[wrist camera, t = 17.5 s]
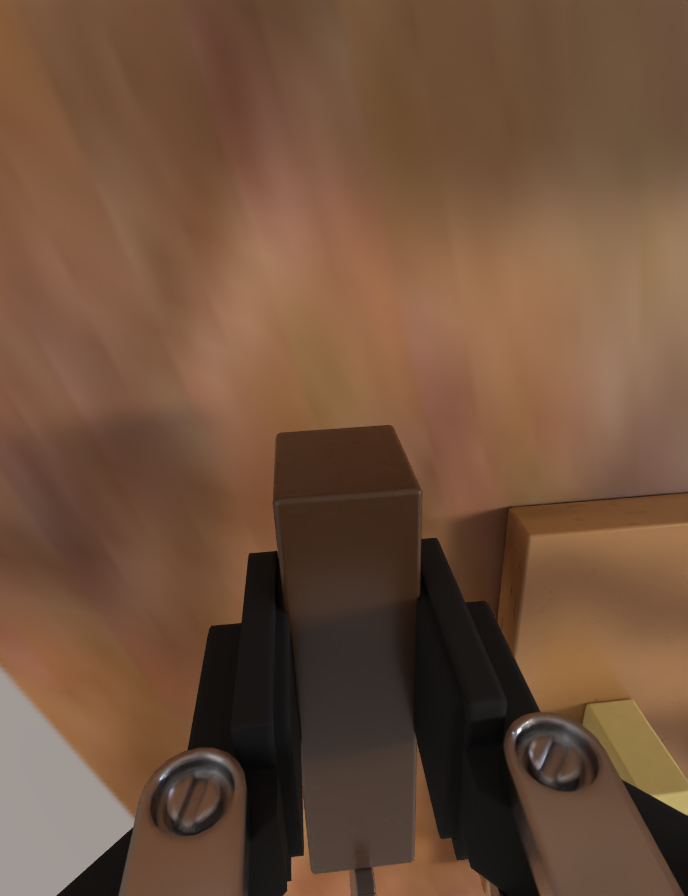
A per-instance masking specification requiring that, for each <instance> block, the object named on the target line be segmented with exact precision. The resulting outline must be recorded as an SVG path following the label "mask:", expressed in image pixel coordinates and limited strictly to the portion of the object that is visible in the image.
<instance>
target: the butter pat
mask: <svg viewBox="0 0 688 896" xmlns="http://www.w3.org/2000/svg"><path fill="white" fill-rule="evenodd" d="M582 725H583V726H584V727H585V728H586V729H588V730H589V731H590V732H591V733H592V734H593V735H595V736H596V738H597V739H598V740H599V742H600V743H601V745H602V746H603V747H604V749H605V750H606V752H607V754H608V756H609V758H610V759H611V761H612V763H613V765H614V767H615V769H616V770H617V772H618V774H619V776H620V778H621V779H622V780H624V781H626V782H628V783H629V784H631V785H633V786H635V787H637V788H638V789H640V790H642V791H644V792H646V793H647V794H649V795H651V796H653V797H655V798H656V799H658V800H660V801H662V802H664V803H665V804H667V805H669V806H671V807H673V808H675V809H676V810H678V811H680V812H682V813H684V814H685V815H687V814H688V781H687V779H686V778H685V776H684V775H683V773H682V772H681V770H680V769H679V767H678V766H677V764H676V763H675V761H674V760H673V758H672V757H671V755H670V754H669V752H668V751H667V749H666V748H665V746H664V745H663V744H662V742H661V741H660V739H659V738H658V736H657V735H656V733H655V732H654V730H653V729H652V727H651V726H650V724H649V723H648V721H647V720H646V718H645V717H644V715H643V714H642V712H641V711H640V709H639V708H638V706H637V705H636V703H635V702H634V701H633V700H632V699H624V700H615V701H606V702H597V703H589V704H587V705H586V709H585V714H584V719H583V724H582Z"/></svg>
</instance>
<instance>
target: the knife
mask: <svg viewBox="0 0 688 896" xmlns="http://www.w3.org/2000/svg"><path fill="white" fill-rule="evenodd" d="M273 510H274V519H275V529H276V539H277V548H278V558H279V568H280V577H281V587H282V597H283V606H284V611H285V613H288V616H289V626H290V636H291V646H292V657H293V667H294V677H295V687H296V697H297V708H298V718H299V728H300V738H301V763H302V789H303V799H304V809H305V818H306V828H307V838H308V847H309V857H310V867H311V871H312V873H314V874H320V873H329V872H337V871H345V870H349V871H350V889H351V896H376V889H375V881H374V873H373V867H377V866H385V865H394V864H402V863H410V862H412V861H414V857H415V812H416V766H417V739H416V735H415V685H416V637H417V602H418V601H419V600H420V579H421V533H422V490H421V488H420V485H419V483H418V481H417V479H416V476H415V474H414V472H413V470H412V468H411V465H410V463H409V461H408V459H407V456H406V454H405V452H404V450H403V448H402V445H401V443H400V441H399V439H398V436H397V434H396V432H395V430H394V427H393V426H391V425H384V426H369V427H355V428H341V429H327V430H313V431H299V432H284V433H279V434H277V436H276V443H275V466H274V489H273Z"/></svg>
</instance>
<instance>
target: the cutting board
mask: <svg viewBox="0 0 688 896" xmlns="http://www.w3.org/2000/svg"><path fill="white" fill-rule="evenodd" d="M497 623H498V625H499V627H500V629H501V631H502V633H503V635H504V637H505V639H506V641H507V644H508V646H509V648H510V650H511V652H512V654H513V656H514V658H515V660H516V662H517V664H518V666H519V668H520V670H521V672H522V674H523V676H524V679H525V681H526V683H527V685H528V687H529V689H530V691H531V693H532V695H533V697H534V699H535V701H536V703H537V705H538V707H539V709H540V711H541V712H548V713H555V714H558V715H562V716H565V717H568V718H570V719H572V720H574V721H576V722H578V723H579V724H581V725H582V724H583V719H584V714H585V709H586V705H587V704H589V703H597V702H606V701H615V700H624V699H632V700H633V701H634V702H635V703H636V705H637V706H638V708H639V709H640V711H641V712H642V714H643V715H644V717H645V718H646V720H647V721H648V723H649V724H650V726H651V727H652V729H653V730H654V732H655V733H656V735H657V736H658V738H659V739H660V741H661V742H662V744H663V745H664V746H665V748H666V749H667V751H668V752H669V754H670V755H671V757H672V758H673V760H674V761H675V763H676V764H677V766H678V767H679V769H680V770H681V772H682V773H683V775H684V776H685V778H686V779H687V781H688V493H682V494H669V495H657V496H645V497H633V498H621V499H609V500H597V501H584V502H572V503H560V504H548V505H536V506H524V507H512V508H509V510H508V520H507V530H506V540H505V550H504V559H503V569H502V579H501V589H500V599H499V609H498V619H497ZM687 816H688V814H687ZM479 875H480V874H479ZM480 879H481V883H482V886H483V890H484V892H485V894H487V895H488V894H491V893H490V885H489V881H488V880H487V879H485V878H484V877H483V876H481V875H480Z"/></svg>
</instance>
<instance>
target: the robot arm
mask: <svg viewBox="0 0 688 896" xmlns="http://www.w3.org/2000/svg"><path fill="white" fill-rule="evenodd" d="M415 735H416V739H417V744H418V748H419V752H420V756H421V761H422V765H423V769H424V773H425V778H426V782H427V786H428V790H429V795H430V799H431V803H432V807H433V812H434V816H435V820H436V824H437V828H438V832H439V835H440V838H441V839H445V838H452V842H453V846H454V850H455V854H456V858H457V860H465V859H469V863H470V866H471V868H472V869H473V870H475V871H476V872H477V873H479V874H480V875H481V876H483V877H484V878H485V879H487V880H488V881H489V885H490V893H491V896H688V816H687V815H685V814H684V813H682V812H680V811H678V810H676V809H675V808H673V807H671V806H669V805H667V804H665V803H664V802H662V801H660V800H658V799H656V798H655V797H653V796H651V795H649V794H647V793H646V792H644V791H642V790H640V789H638V788H637V787H635V786H633V785H631V784H629V783H628V782H626V781H624V780H622V779H621V778H620V776H619V774H618V772H617V770H616V769H615V767H614V765H613V763H612V761H611V759H610V758H609V756H608V754H607V752H606V750H605V749H604V747H603V746H602V745H601V743H600V742H599V740H598V739H597V738H596V736H595V735H593V734H592V733H591V732H590V731H589V730H588V729H586V728H585V727H584V726H583V725H581V724H579V723H578V722H576V721H574V720H572V719H570V718H568V717H565V716H562V715H558V714H555V713H548V712H541V711H540V709H539V707H538V705H537V703H536V701H535V699H534V697H533V695H532V693H531V691H530V689H529V687H528V685H527V683H526V681H525V679H524V676H523V674H522V672H521V670H520V668H519V666H518V664H517V662H516V660H515V658H514V656H513V654H512V652H511V650H510V648H509V646H508V644H507V641H506V639H505V637H504V635H503V633H502V631H501V629H500V627H499V625H498V623H497V621H496V619H495V617H494V615H493V613H492V611H491V609H490V607H489V605H488V604H487V603H486V602H485V601H478V602H467V603H465V601H464V599H463V597H462V594H461V592H460V590H459V587H458V585H457V583H456V580H455V578H454V576H453V573H452V571H451V569H450V566H449V564H448V562H447V559H446V557H445V555H444V552H443V550H442V548H441V546H440V543H439V541H438V539H437V538H428V539H421V579H420V600H419V601H418V602H417V637H416V685H415ZM295 856H304V838H303V800H302V763H301V738H300V728H299V718H298V708H297V697H296V687H295V677H294V667H293V657H292V646H291V636H290V626H289V616H288V613H285V611H284V606H283V597H282V587H281V577H280V568H279V558H278V553H277V551H273V552H261V553H250V554H249V557H248V566H247V575H246V585H245V595H244V604H243V614H242V623H238V624H227V625H216V626H211V627H210V629H209V633H208V638H207V643H206V649H205V655H204V660H203V666H202V672H201V677H200V683H199V689H198V694H197V700H196V706H195V711H194V717H193V723H192V729H191V734H190V740H189V746H188V751H184V752H182V753H180V754H178V755H176V756H175V757H173V758H171V759H169V760H168V761H166V762H165V763H164V764H163V765H162V766H161V767H160V768H158V769H157V770H156V771H155V772H154V774H153V775H152V776H151V778H150V779H149V781H148V782H147V783H146V785H145V787H144V790H143V792H142V795H141V797H140V800H139V804H138V808H137V813H136V818H135V822H134V827H133V828H132V829H131V830H130V831H129V832H127V833H126V834H125V835H124V836H123V837H122V838H121V839H120V840H118V841H117V842H116V843H115V844H114V845H113V846H112V847H111V848H109V850H107V851H106V852H105V853H104V854H103V855H102V856H100V857H99V858H98V859H97V860H96V861H95V862H94V863H93V864H92V865H90V866H89V867H88V868H87V869H86V870H85V871H84V872H83V873H81V874H80V875H79V876H78V877H77V878H76V879H75V880H74V881H72V882H71V883H70V884H69V885H68V886H67V887H66V888H65V889H64V890H63V891H61V892H60V893H59V894H58V895H57V896H283V895H284V894H285V892H286V891H287V881H291V857H295Z"/></svg>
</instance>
